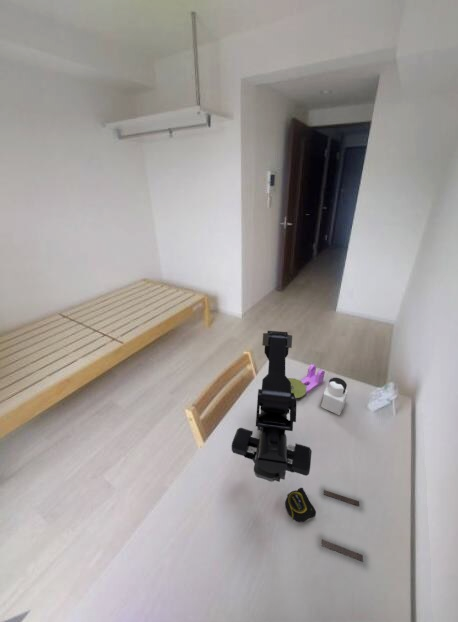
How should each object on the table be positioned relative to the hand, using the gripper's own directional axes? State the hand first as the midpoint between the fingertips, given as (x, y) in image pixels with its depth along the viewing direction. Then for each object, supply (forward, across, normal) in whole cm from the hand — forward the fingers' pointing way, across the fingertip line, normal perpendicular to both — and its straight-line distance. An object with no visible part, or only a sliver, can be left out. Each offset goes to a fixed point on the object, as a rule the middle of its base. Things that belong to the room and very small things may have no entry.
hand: (269, 470), depth 70 cm
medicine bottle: (+12, +17, +40) cm, 45 cm away
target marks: (+12, +19, 0) cm, 22 cm away
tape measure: (+12, +9, 0) cm, 15 cm away
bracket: (+12, +7, +48) cm, 50 cm away
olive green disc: (+11, +1, +42) cm, 44 cm away
